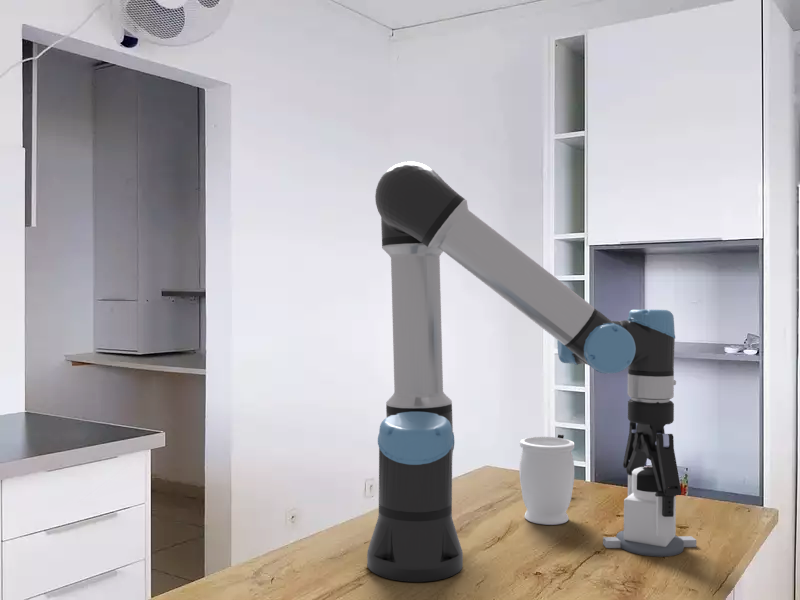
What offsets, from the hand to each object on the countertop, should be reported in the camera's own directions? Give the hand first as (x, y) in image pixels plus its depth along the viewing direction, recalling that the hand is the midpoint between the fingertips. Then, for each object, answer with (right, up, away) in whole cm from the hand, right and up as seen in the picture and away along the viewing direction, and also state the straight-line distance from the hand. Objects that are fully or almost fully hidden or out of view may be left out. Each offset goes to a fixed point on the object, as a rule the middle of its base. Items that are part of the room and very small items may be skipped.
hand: (649, 522), depth 133 cm
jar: (-15, -4, +15) cm, 22 cm away
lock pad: (0, -4, +1) cm, 4 cm away
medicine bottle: (0, -3, 0) cm, 3 cm away
